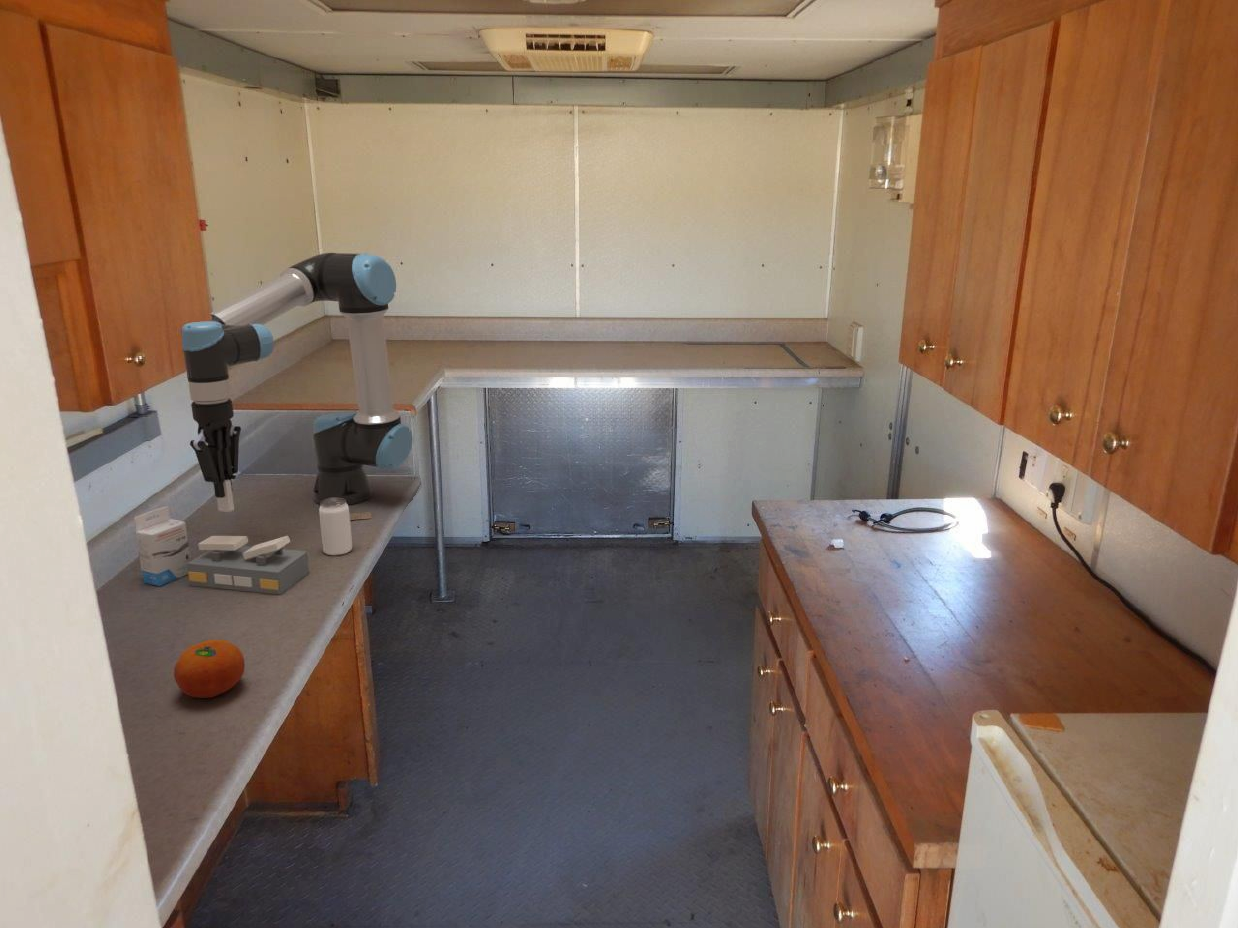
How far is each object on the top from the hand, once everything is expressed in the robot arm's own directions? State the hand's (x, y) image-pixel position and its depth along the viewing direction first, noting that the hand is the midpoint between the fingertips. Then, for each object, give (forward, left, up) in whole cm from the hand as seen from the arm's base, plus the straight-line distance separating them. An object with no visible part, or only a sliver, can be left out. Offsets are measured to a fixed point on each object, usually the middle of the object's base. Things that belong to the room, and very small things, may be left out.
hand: (226, 510), depth 182 cm
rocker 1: (0, -2, -9) cm, 9 cm away
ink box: (+3, -14, -16) cm, 21 cm away
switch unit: (0, +4, -15) cm, 16 cm away
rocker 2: (0, +9, -9) cm, 13 cm away
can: (-18, +14, -16) cm, 28 cm away
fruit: (+40, +23, -16) cm, 49 cm away
